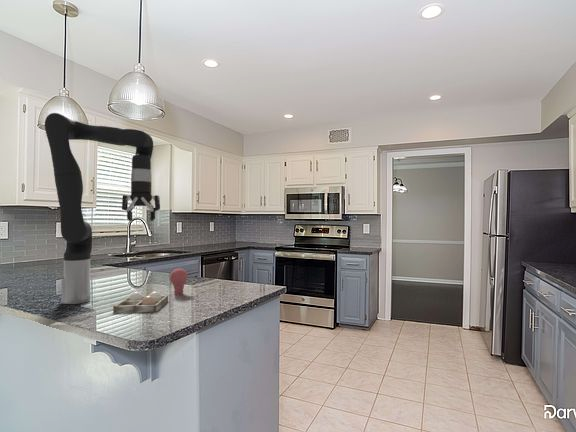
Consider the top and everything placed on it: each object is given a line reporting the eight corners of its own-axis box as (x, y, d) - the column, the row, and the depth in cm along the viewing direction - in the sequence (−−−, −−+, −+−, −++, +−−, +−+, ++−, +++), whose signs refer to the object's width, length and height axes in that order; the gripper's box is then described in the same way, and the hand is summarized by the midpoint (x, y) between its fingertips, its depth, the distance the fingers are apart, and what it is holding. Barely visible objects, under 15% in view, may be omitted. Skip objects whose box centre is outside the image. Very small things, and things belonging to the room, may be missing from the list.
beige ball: (144, 307, 127) (144, 294, 127) (157, 307, 127) (157, 294, 127) (139, 310, 122) (139, 297, 122) (153, 310, 122) (153, 297, 122)
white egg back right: (146, 305, 129) (146, 293, 129) (150, 302, 134) (150, 290, 134) (159, 305, 129) (159, 292, 129) (163, 302, 134) (162, 289, 134)
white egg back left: (127, 306, 128) (127, 293, 128) (132, 302, 133) (132, 290, 133) (140, 305, 129) (140, 293, 129) (144, 302, 133) (144, 290, 133)
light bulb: (182, 298, 143) (182, 270, 143) (166, 297, 144) (166, 269, 144) (190, 294, 150) (190, 267, 149) (175, 294, 151) (175, 267, 151)
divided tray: (113, 314, 120) (113, 306, 120) (129, 303, 135) (129, 296, 134) (156, 313, 121) (156, 305, 121) (167, 303, 136) (167, 295, 136)
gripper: (162, 182, 142) (161, 220, 142) (127, 181, 141) (126, 220, 141) (156, 180, 134) (156, 221, 134) (119, 179, 133) (119, 221, 133)
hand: (141, 220), depth 137 cm, fingers open, 8 cm apart
